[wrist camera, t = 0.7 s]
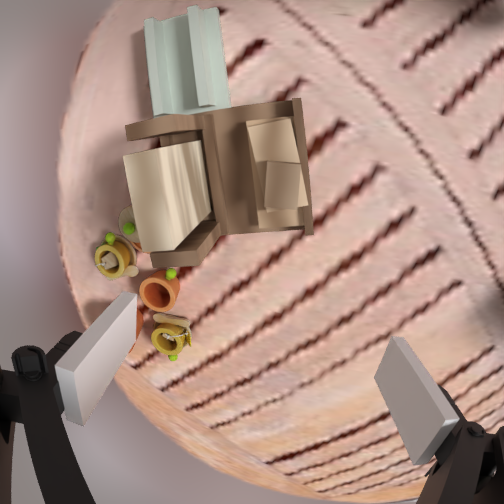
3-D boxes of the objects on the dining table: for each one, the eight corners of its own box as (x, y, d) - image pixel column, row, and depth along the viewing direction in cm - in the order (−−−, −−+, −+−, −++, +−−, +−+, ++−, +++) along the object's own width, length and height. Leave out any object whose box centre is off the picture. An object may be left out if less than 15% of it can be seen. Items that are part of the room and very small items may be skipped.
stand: (218, 9, 32) (209, -2, 28) (231, 108, 37) (223, 106, 33) (147, 28, 34) (132, 20, 30) (157, 121, 39) (142, 122, 35)
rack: (300, 100, 36) (301, 88, 24) (312, 225, 41) (317, 264, 30) (165, 120, 39) (117, 121, 27) (184, 235, 44) (147, 273, 33)
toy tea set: (197, 351, 52) (180, 391, 44) (118, 338, 54) (93, 371, 46) (184, 197, 43) (155, 217, 34) (91, 198, 45) (52, 216, 36)
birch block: (202, 140, 38) (154, 149, 25) (212, 209, 41) (173, 249, 28) (178, 144, 38) (122, 156, 26) (189, 212, 42) (142, 252, 29)
